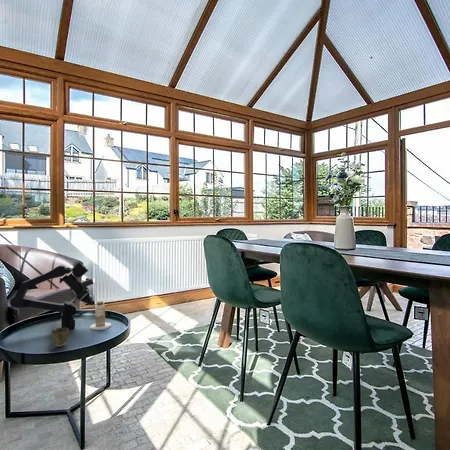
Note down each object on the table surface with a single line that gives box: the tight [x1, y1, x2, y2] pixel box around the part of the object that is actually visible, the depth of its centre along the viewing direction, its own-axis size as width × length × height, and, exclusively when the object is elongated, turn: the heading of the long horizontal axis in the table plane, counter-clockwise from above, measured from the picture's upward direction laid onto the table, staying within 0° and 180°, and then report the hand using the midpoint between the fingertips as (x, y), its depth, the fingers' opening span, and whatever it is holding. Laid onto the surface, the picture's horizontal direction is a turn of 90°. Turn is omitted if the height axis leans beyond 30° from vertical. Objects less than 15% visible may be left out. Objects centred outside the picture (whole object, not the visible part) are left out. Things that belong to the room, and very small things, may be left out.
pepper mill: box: [94, 300, 106, 327], centre depth 185 cm, size 5×5×13 cm
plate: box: [89, 321, 112, 331], centre depth 185 cm, size 11×11×1 cm
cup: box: [51, 326, 70, 348], centre depth 156 cm, size 8×7×8 cm
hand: (93, 303), depth 186 cm, fingers open, 9 cm apart
